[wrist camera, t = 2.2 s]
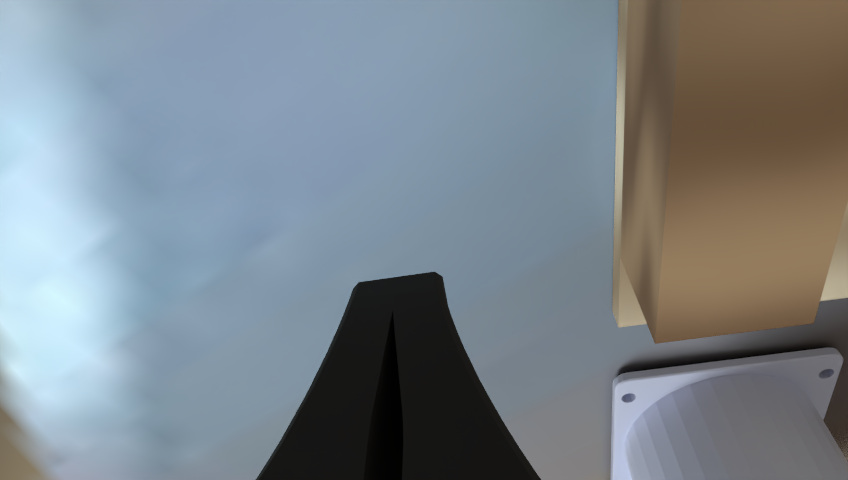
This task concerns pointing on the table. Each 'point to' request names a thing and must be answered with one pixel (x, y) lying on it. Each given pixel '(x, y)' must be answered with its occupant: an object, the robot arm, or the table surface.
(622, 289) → the board
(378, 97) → the table surface
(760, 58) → the t block
